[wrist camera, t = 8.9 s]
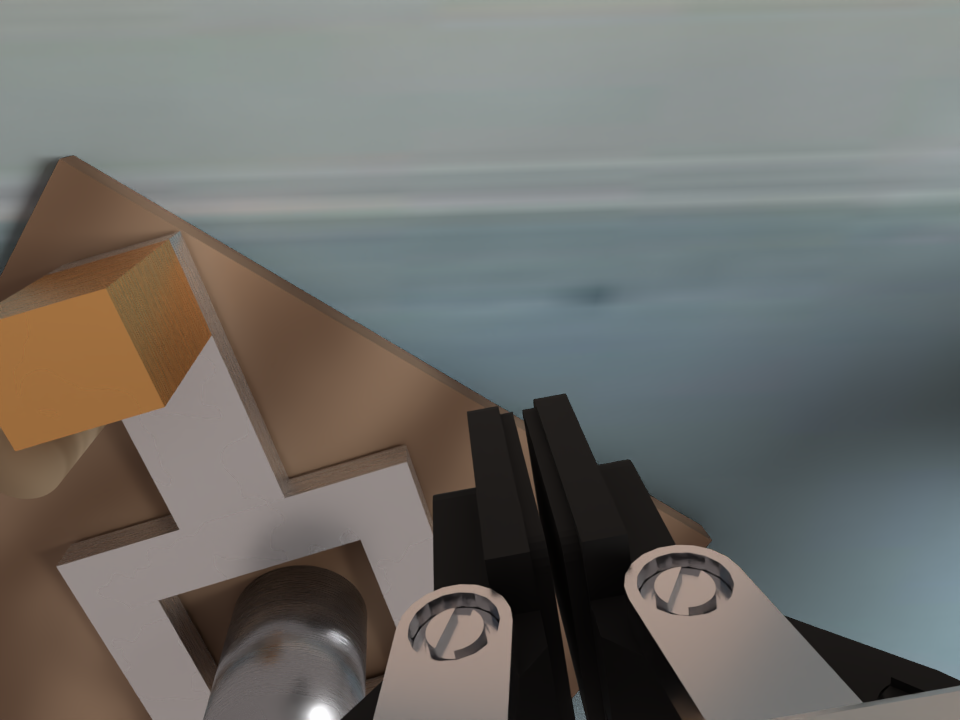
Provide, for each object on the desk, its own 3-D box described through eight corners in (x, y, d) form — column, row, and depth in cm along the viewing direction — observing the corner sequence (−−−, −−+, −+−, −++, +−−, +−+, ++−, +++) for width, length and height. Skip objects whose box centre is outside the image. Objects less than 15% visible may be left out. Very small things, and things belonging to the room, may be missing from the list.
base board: (701, 525, 29) (712, 540, 28) (408, 859, 34) (409, 881, 34) (73, 155, 21) (59, 159, 20) (-185, 664, 26) (-206, 685, 26)
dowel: (138, 377, 23) (76, 453, 18) (110, 425, 23) (43, 511, 19) (76, 345, 22) (-4, 416, 18) (49, 395, 23) (-35, 477, 18)
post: (392, 598, 27) (395, 730, 22) (324, 687, 29) (310, 834, 23) (274, 544, 26) (245, 672, 20) (208, 640, 27) (163, 785, 22)
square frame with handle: (492, 688, 29) (518, 836, 24) (211, 774, 29) (169, 944, 24) (316, 190, 21) (291, 233, 16) (-76, 305, 21) (-245, 391, 15)
